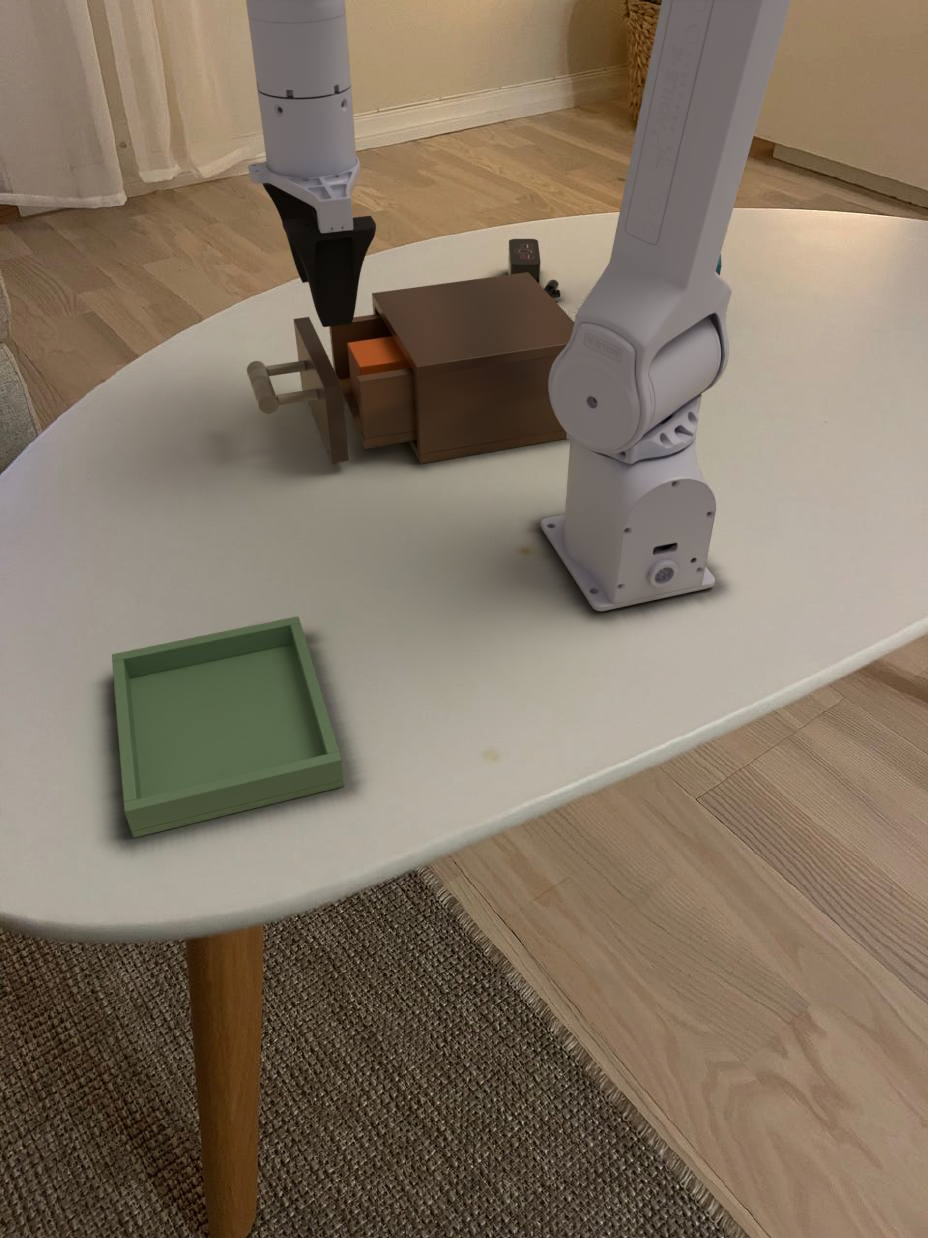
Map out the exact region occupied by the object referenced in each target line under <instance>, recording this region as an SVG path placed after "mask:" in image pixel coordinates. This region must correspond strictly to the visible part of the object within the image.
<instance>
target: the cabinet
mask: <svg viewBox="0 0 928 1238" xmlns="http://www.w3.org/2000/svg"><path fill="white" fill-rule="evenodd" d="M544 289H545V288H544V287H542V285H541V284H540V285H539V284H538V282H537V281H536V280H535V279H534V278H533V277H532V276H531V275H530V274H529V273H528V272H526V273H518V274H511V275H509V274H503V275H498V276H497V275H496V276H489V277H482V278H474V279H468V280H460V281H452V282H444V283H438V284H429V285H422V286H414V287H408V288H407V287H406V288H401V289H393V290H385V291H378V292H377V291H376V292H371V300H372V301H371V302H372V315H374V314H380V316H381V318H382V319H383V321H384V323H385V324H386V326H387V328H388V329H389V331H390V333H391V334H392V336H393V338H394V339H395V341H396V343H397V344H398V346H399V348H400V349H401V351H402V353H403V354H404V356H405V358H406V359H407V361H408V363H409V364H410V366H411V368H412V369H413V371H414V383H415V407H416V431H417V440H413V441H408V443H409V445H410V447H411V449H412V450H413V452H414V454H415V456H416V458H417V459H418V461H419V464H421V465H423V464H428V463H434V462H441V461H445V460H451V459H456V458H463V457H468V456H469V457H470V456H474V455H480V454H486V453H492V452H497V451H501V450H502V451H503V450H508V449H515V448H520V447H525V446H532V445H536V444H543V443H547V442H554V441H560V440H565V439H567V438H566V437H567V432H566V431H565V430H564V428H563V427H562V426H561V424H560V423H559V421H558V419H557V417H556V415H555V413H554V411H553V408H552V405H551V401H550V397H549V390H548V380H549V374H550V370H551V367H552V364H553V363H554V361H555V359H556V357H557V356H558V355H559V354H560V353H561V352H562V350H563V349H564V348H565V347H566V345H567V344H568V342H569V340H570V338H571V335H572V331H573V327H574V322H575V320H573V319H572V318H571V317H570V316H569V314H567V312H565V310H564V309H563V308H562V307H561V306H560V305H559V303H557V302H556V301H555V300H554V298H553V297H552V298H551V296H550V295H549V294H548V293H547V292H546V291H545V290H544Z"/></svg>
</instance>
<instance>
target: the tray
mask: <svg viewBox="0 0 928 1238" xmlns="http://www.w3.org/2000/svg"><path fill="white" fill-rule="evenodd" d="M301 623H302V622H301V620H300V616H292V617H287V618H283V619H278V620H273V621H268V622H264V623H258V624H253V625H248V626H244V627H238V628H233V629H228V630H224V631H219V632H214V633H210V634H205V635H200V636H195V637H190V638H185V639H181V640H176V641H175V640H174V641H171V642H166V643H162V644H161V643H160V644H155V645H151V646H150V645H149V646H145V647H140V648H136V649H131V650H127V651H121V652H117V653H112V654H111V662H112V663H111V664H112V677H113V688H114V701H115V712H116V714H115V715H116V725H117V739H118V749H119V763H120V764H119V765H120V775H121V788H122V800H123V801H122V802H123V812H124V815H125V817H126V820H127V823H128V826H129V829H130V832H131V835H132V836H133V838H140V837H142V836H147V835H151V834H154V833H155V834H156V833H160V832H163V831H167V830H171V829H176V828H180V827H185V826H188V825H192V824H196V823H200V822H204V821H209V820H213V819H217V818H221V817H225V816H228V815H229V816H230V815H232V814H237V813H241V812H244V811H250V810H253V809H257V808H262V807H265V806H269V805H274V804H277V803H282V802H285V801H290V800H294V799H298V798H302V797H306V796H310V795H314V794H319V793H322V792H326V791H329V790H335V789H339V788H343V787H345V785H346V783H345V777H344V769H343V762H342V756H341V753H340V749H339V747H338V743H337V740H336V736H335V733H334V730H333V726H332V723H331V719H330V716H329V714H328V710H327V707H326V706H327V705H326V703H325V700H324V696H323V693H322V690H321V686H320V683H319V680H318V677H317V672H316V670H315V666H314V663H313V660H312V657H311V652H310V649H309V647H308V643H307V639H306V637H305V633H304V629H303V626H302V624H301Z"/></svg>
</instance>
